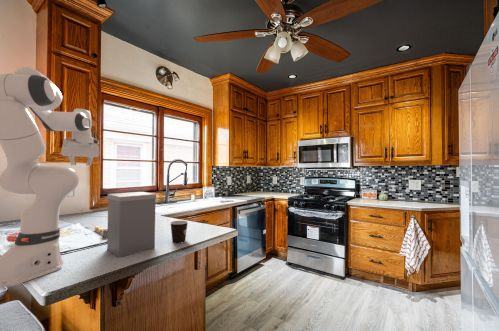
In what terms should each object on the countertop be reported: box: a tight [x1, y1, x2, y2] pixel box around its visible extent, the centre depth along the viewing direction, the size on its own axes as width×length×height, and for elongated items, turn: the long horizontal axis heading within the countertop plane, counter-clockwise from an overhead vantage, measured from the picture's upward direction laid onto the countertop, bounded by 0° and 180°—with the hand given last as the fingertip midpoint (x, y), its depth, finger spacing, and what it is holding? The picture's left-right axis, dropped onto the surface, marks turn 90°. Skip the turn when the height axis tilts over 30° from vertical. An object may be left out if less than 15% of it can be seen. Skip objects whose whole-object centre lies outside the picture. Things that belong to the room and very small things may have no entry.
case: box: [106, 191, 157, 258], centre depth 114 cm, size 14×16×26 cm
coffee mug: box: [170, 220, 188, 244], centre depth 125 cm, size 12×9×10 cm
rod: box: [94, 225, 108, 238], centre depth 139 cm, size 21×4×4 cm, turn 49°
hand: (81, 165), depth 130 cm, fingers open, 8 cm apart
